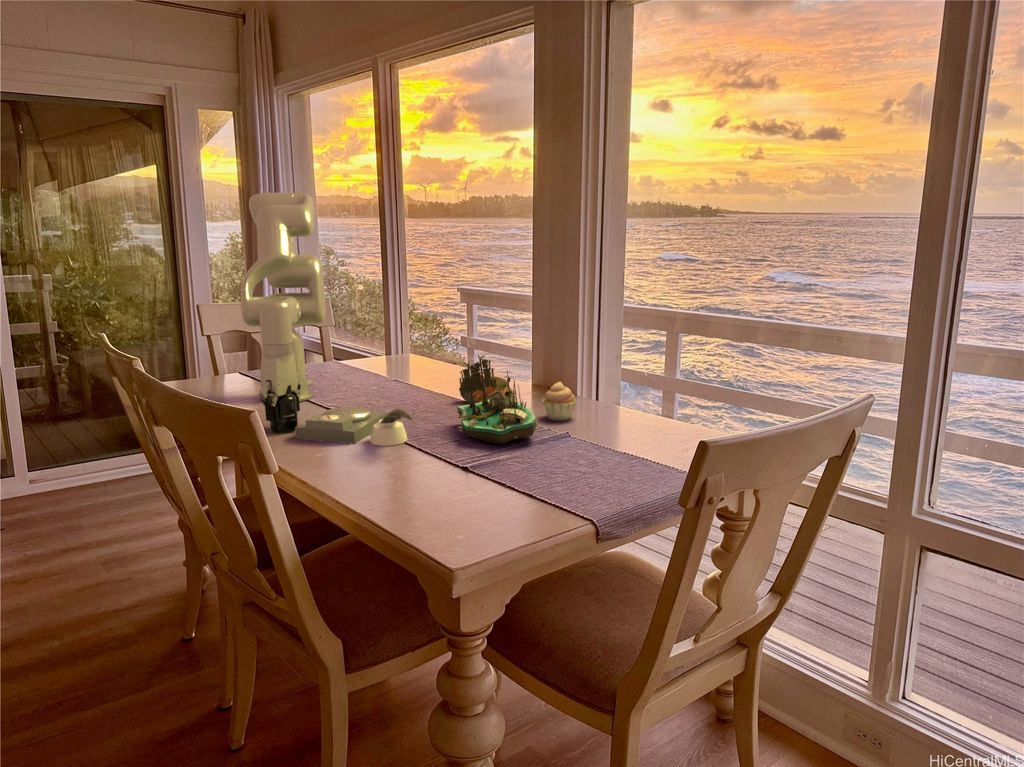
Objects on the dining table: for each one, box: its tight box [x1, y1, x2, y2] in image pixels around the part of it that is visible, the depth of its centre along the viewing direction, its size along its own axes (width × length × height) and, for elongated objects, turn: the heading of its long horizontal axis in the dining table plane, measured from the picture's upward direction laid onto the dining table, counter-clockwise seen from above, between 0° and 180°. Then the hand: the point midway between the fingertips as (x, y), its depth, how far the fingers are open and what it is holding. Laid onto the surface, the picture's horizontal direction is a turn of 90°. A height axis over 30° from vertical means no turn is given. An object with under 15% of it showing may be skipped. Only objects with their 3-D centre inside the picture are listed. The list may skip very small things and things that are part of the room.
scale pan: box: [322, 405, 371, 422], centre depth 185 cm, size 12×12×1 cm
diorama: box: [456, 354, 539, 445], centre depth 178 cm, size 19×25×19 cm
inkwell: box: [369, 407, 413, 447], centre depth 171 cm, size 9×18×10 cm, turn 37°
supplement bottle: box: [269, 385, 299, 434], centre depth 183 cm, size 7×7×12 cm
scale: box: [294, 411, 388, 445], centre depth 183 cm, size 18×16×6 cm
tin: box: [459, 375, 508, 404], centre depth 208 cm, size 15×3×8 cm, turn 68°
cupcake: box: [541, 381, 578, 422], centre depth 192 cm, size 9×9×10 cm
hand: (283, 415), depth 184 cm, fingers open, 9 cm apart
